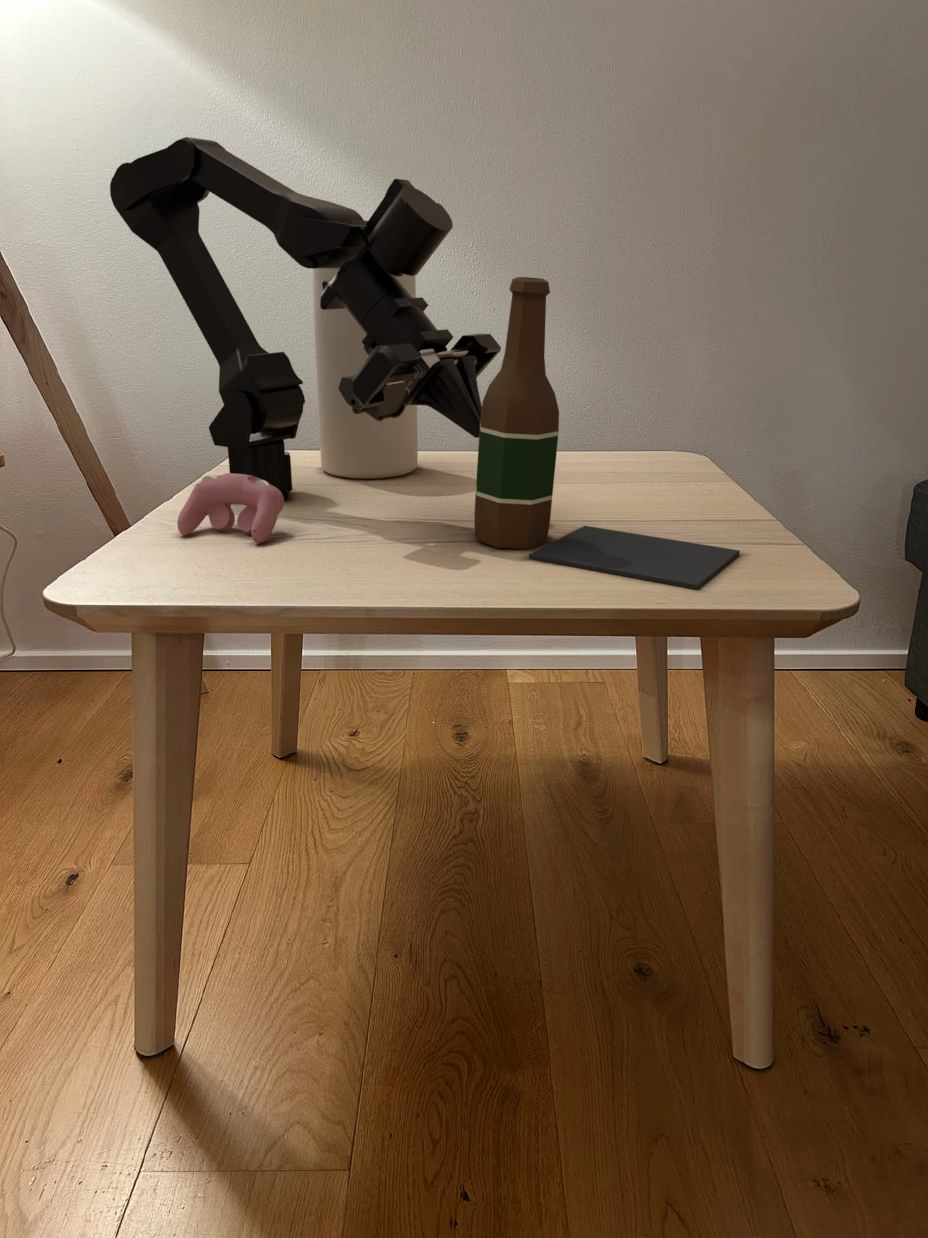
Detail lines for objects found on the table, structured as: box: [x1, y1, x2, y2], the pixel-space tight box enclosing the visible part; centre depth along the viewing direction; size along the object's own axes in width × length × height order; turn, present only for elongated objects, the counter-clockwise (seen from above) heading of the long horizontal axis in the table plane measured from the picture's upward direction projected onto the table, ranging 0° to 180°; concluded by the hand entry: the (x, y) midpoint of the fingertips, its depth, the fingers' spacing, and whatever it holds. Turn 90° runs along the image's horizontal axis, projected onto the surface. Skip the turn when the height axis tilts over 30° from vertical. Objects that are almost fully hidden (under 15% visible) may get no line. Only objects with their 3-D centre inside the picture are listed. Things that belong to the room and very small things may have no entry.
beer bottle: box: [473, 276, 560, 550], centre depth 87 cm, size 8×8×24 cm
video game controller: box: [176, 472, 285, 545], centre depth 93 cm, size 10×5×7 cm, turn 71°
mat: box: [528, 525, 741, 590], centre depth 87 cm, size 16×12×1 cm
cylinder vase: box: [310, 268, 419, 480], centre depth 118 cm, size 12×12×25 cm
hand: (481, 434), depth 90 cm, fingers closed
